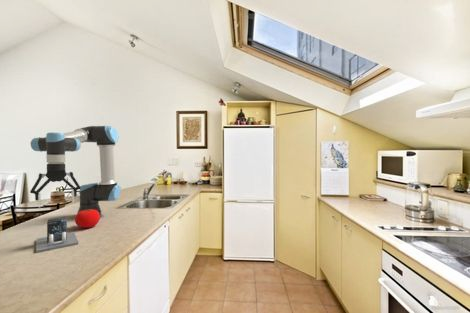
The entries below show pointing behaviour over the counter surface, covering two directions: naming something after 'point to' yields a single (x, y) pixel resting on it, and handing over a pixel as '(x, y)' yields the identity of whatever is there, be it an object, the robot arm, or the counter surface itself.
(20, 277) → the counter surface
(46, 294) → the counter surface
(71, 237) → the grey stand base
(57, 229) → the box
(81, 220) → the tomato
